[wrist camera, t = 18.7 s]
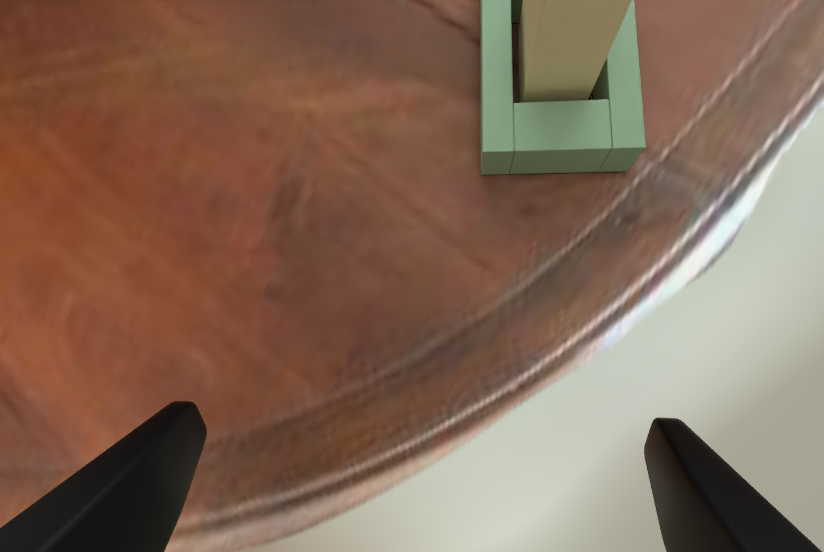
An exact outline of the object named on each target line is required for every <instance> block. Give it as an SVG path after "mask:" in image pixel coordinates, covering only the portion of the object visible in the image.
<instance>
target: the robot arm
mask: <svg viewBox="0 0 824 552" xmlns="http://www.w3.org/2000/svg"><path fill="white" fill-rule="evenodd" d="M206 435H207V430H206V426H205V424H204V421H203V419H202V417H201V415H200V413H199V410H198V408H197V406H196V404H194V403H193V402H188V401H175V402H172V403H170V404H169V405H167V406H166V407H164V408H163V409H162V410H160V411H159V412H158V413H156V414H155V415H154V416H152V417H151V418H149V419H148V420H147V421H145V422H144V423H143V424H141V425H140V426H139V427H137V428H136V429H134V430H133V431H132V432H130V433H129V434H128V435H126V436H125V437H124V438H122V439H121V440H120V441H118V442H117V443H115V444H114V445H113V446H111V447H110V448H109V449H107V450H106V451H105V452H103V453H102V454H100V455H99V456H98V457H96V458H95V459H94V460H92V461H91V462H90V463H88V464H87V465H85V466H84V467H83V468H81V469H80V470H79V471H77V472H76V473H75V474H73V475H72V476H71V477H69V478H68V479H66V480H65V481H64V482H62V483H61V484H60V485H58V486H57V487H56V488H54V489H53V490H51V491H50V492H49V493H47V494H46V495H45V496H43V497H42V498H41V499H39V500H38V501H37V502H35V503H34V504H32V505H31V506H30V507H28V508H27V509H26V510H24V511H23V512H22V513H20V514H19V515H17V516H16V517H15V518H13V519H12V520H11V521H9V522H8V523H7V524H5V525H4V526H2V527H1V528H0V552H164V551H165V549H166V546H167V544H168V542H169V539H170V537H171V535H172V533H173V530H174V528H175V526H176V524H177V521H178V519H179V516H180V514H181V512H182V509H183V506H184V503H185V501H186V498H187V495H188V492H189V489H190V486H191V483H192V480H193V477H194V473H195V470H196V467H197V464H198V461H199V458H200V455H201V452H202V449H203V446H204V443H205V440H206ZM644 455H645V461H646V466H647V470H648V475H649V479H650V483H651V488H652V493H653V497H654V502H655V506H656V511H657V515H658V520H659V525H660V529H661V533H662V537H663V541H664V545H665V548H666V551H667V552H822V551H821V550H820V549H818V548H817V547H816V546H815V545H814V544H813V543H812V542H811V541H810V540H809V539H808V538H807V537H805V536H804V535H803V534H802V533H801V532H800V531H799V530H798V529H797V528H796V527H795V526H794V525H793V524H792V523H791V522H790V521H788V520H787V519H786V518H785V517H784V516H783V515H782V514H781V513H780V512H779V511H778V510H777V509H776V508H774V507H773V506H772V505H771V504H770V503H769V502H768V501H767V500H766V499H765V498H764V497H763V496H762V495H760V493H758V492H757V491H756V490H755V489H754V488H753V487H752V486H751V485H750V484H749V483H748V482H747V481H746V480H745V479H743V478H742V477H741V476H740V475H739V474H738V473H737V472H736V471H735V470H734V469H733V468H732V467H731V466H730V465H729V464H727V463H726V462H725V461H724V460H723V459H722V458H721V457H720V456H719V455H718V454H717V453H716V452H715V451H714V450H712V449H711V448H710V447H709V446H708V445H707V444H706V443H705V442H704V441H703V440H702V439H701V438H700V437H699V436H697V435H696V434H695V433H694V432H693V431H692V430H691V429H690V428H689V427H688V426H687V425H686V424H685V423H683V422H682V421H681V420H679V419H676V418H656V419H654V420H653V422H652V425H651V428H650V431H649V434H648V437H647V440H646V443H645V447H644Z"/></svg>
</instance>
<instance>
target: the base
mask: <svg viewBox="0 0 824 552" xmlns="http://www.w3.org/2000/svg"><path fill="white" fill-rule="evenodd" d="M522 1H523V0H480V115H481V175H490V174H509V173H510V174H528V173H572V172H597V171H598V172H620V171H628V169H629V168H630V167H631V166H632V164H633V163H634V162H635V160H636V159H637V158H638V157H639V155H640V154H641V153H642V152H643V150H644V149H645V148H646V142H645V129H644V117H643V105H642V93H641V80H640V68H639V56H638V44H637V32H636V19H635V7H634V0H632V1H631V4H630V6H629V8H628V10H627V13H626V15H625V17H624V19H623V22H622V24H621V26H620V28H619V31H618V33H617V35H616V38H615V40H614V42H613V44H612V47H611V49H610V51H609V53H608V56H607V58H606V60H605V62H604V65H603V67H602V69H601V72H600V74H599V76H598V78H597V81H596V83H595V85H594V87H593V100H577V101H552V102H527V103H514V104H513V74H512V24H511V23H519V21H520V14H521V8H522Z"/></svg>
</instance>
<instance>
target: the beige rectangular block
mask: <svg viewBox="0 0 824 552" xmlns="http://www.w3.org/2000/svg"><path fill="white" fill-rule="evenodd" d="M631 1H632V0H523V1H522V8H521V14H520V21H519V28H518V65H519V103H527V102H552V101H577V100H588V99H589V96H590V94H591V92H592V90H593V87H594V85H595V83H596V81H597V78H598V76H599V74H600V72H601V69H602V67H603V65H604V62H605V60H606V58H607V56H608V53H609V51H610V49H611V47H612V44H613V42H614V40H615V38H616V35H617V33H618V31H619V28H620V26H621V24H622V22H623V19H624V17H625V15H626V13H627V10H628V8H629V6H630V4H631Z"/></svg>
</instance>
